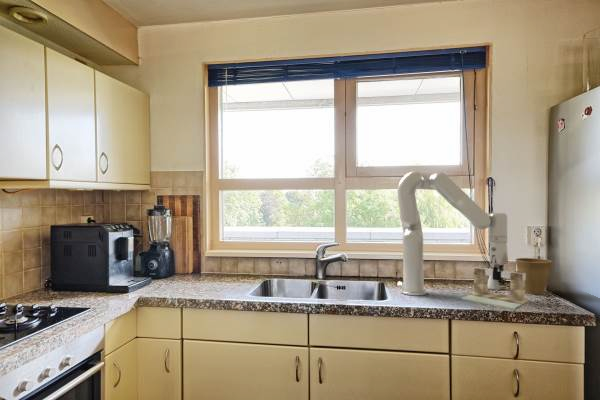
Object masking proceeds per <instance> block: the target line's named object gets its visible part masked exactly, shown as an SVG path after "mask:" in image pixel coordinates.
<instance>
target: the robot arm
mask: <svg viewBox="0 0 600 400" xmlns="http://www.w3.org/2000/svg"><path fill="white" fill-rule="evenodd" d="M416 190H430V191H432V190H433V191H436V192H437V193H439V195H440V196H441V197H442V198H444V200H446V202H447V203H448V204H450V205H451V207H453V208H454V209H455V210H457V211H459V212H460V213H461V214H462V215H463V216H464V217H465V218H466V220H468V221H469V223H470V224H471V225H472V226H473V227H475V228H476V229H478V230H485V229H488V243H490V245H489V263H490V265H491V269H492V271H493V280H498V281H501V280H504V278H502V277H501V272H499V271H500V270H503V271H505V270H504V269H505V268H504V267H505V265H507V264H508V262H509V260H508V259H509V257H508V215H507V214H506V213H503V212H491V213H487V212H486V211H484V210H483V208H482V207H481V206H480V205H478V204H477V203H476V202H475V201H474V200H473V199H472V198H471V197H470V195H468V194H467V193H466V192H465V191H464V190H463V189H462V188H461V187H460V186H458V185H457V183H456V182H454V181H453V180H452V179H451V178H450V176H448V175H447V174H446V173H444V172H441V171H439V172H434V173H433V172H432V173H431V172H430V173H429V172H419V171H417V170H413V171H410V172H408V173H406V174H405V175H404V176H403V177H402V178H401V179H400V181H399V183H398V186H397V192H396V193H397V199H398V200H397V202H398V208H399V220H400V222H401V228H402V233H403V235H402V261H403V262H402V264H403V266H402V268H403V269H402V270H403V271H402V272H403V275H402V276H403V277H402V278H403V281H397V284H396V285H397V286H398V287H401V288H400V291H399V292H400V293H401V294H404V295H406V296H407V295H409V296H425V295H426V294H428V290H427V289H424V287H425V286H424V233H423V227H422V221H421V215H420V212H419V210H418V205H417V198H416V197H417V196H416Z"/></svg>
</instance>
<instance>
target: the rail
mask: <svg viewBox="0 0 600 400" xmlns="http://www.w3.org/2000/svg"><path fill="white" fill-rule="evenodd" d="M480 267H481V266H473V267H472V274H474V268H480ZM480 269H483V271H484V275H488V277H489V276H493V271H492V268H489V267H486V268H480ZM499 272H501V277H502V278H503V279H509V280H510V273H519V272H514V271H509V270H500V271H499ZM519 274H521V280H522V281H524V280H526V273H519Z"/></svg>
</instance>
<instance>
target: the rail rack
mask: <svg viewBox="0 0 600 400" xmlns="http://www.w3.org/2000/svg"><path fill="white" fill-rule="evenodd" d="M479 267H480V268H487V267H484V266H479ZM480 268H474V273H473V292H471V293H470V295H472V296H478V297H484V298H489V299H495V300H500V301H506V302H511V303H517V304H521V305H525V304H526V303H528V302H529V298H526V292H525V280H524V281H522V280H521V274H519V273H525V272H519V271H518V270H515V271H513V272H519V273H510V279H509V280H510V283H509V285H510V288H509V289H510V295H508V294H507V295H506V294H501V293H495V292H489V291H488V290H489V289H488V279H489V276H488V275H484V271H483V269H480Z"/></svg>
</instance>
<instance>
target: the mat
mask: <svg viewBox="0 0 600 400" xmlns="http://www.w3.org/2000/svg"><path fill="white" fill-rule="evenodd" d="M461 300H463V301H468V302H474V303H479V304H483V305H489V306H495V307H500V308H505V309H510V310H515V309H518V308H519V307H521V304H517V303H511V302H506V301H500V300H495V299H489V298H484V297H478V296H472V295H471V294H468V295H466V296H463V297H461Z"/></svg>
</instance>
